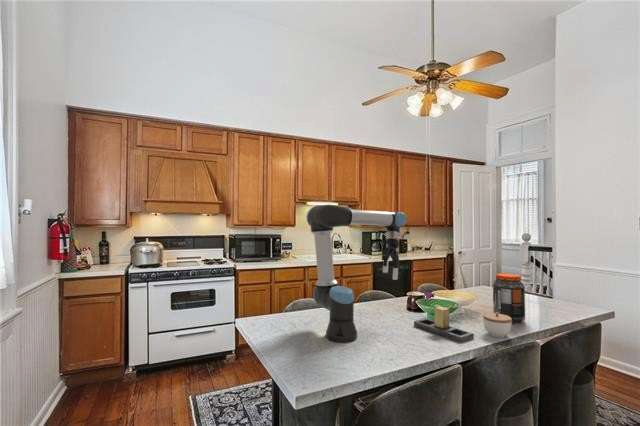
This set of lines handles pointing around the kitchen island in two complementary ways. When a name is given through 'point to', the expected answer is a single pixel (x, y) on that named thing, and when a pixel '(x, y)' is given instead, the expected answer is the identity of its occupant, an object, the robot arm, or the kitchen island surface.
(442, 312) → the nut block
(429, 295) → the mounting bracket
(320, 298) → the robot arm
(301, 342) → the kitchen island surface
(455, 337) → the dark grey slotted tray
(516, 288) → the supplement tub
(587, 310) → the kitchen island surface
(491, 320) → the lidded bowl
